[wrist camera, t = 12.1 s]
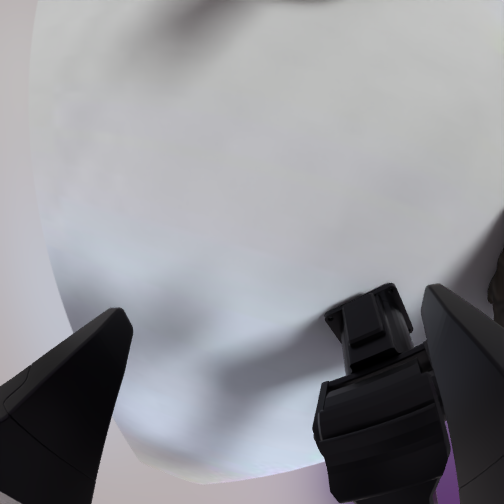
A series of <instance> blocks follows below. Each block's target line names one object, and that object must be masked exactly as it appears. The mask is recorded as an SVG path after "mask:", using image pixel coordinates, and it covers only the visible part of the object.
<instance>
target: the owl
mask: <svg viewBox="0 0 504 504" xmlns="http://www.w3.org/2000/svg"><path fill="white" fill-rule="evenodd" d="M488 301H489V302H490V303H491V304H493V310H494V321H495V322H496V323H497V324H499V325H500V326H502V327H503V328H504V249H503V251H502V253H501V255H500V257H499V259H498V265H497V271H496V274H495V275H494V277H493V279H492V280H491V282H490V285H489V288H488Z"/></svg>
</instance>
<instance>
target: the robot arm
mask: <svg viewBox="0 0 504 504" xmlns="http://www.w3.org/2000/svg"><path fill="white" fill-rule="evenodd" d="M391 288H392V290H389V289H391ZM421 315H422V320H423V324H424V329H425V333H426V338H427V340H426V341H424V342H423V344H421V345H419V346H416V347H414V346H413V343H412V340H411V337H410V333H412V331H413V327H412V324H411V322H410V319H409V317H408V314H407V312H406V309H405V307H404V305H403V302H402V300H401V298H400V295H399V293H398V291H397V288H396V286H395V284H393V283H389V284H386V285H384V286H382V287H380V288H378V289H376V290H374V291H372V292H370V293H368V294H366V295H364V296H362V297H360V298H358V299H355V300H353V301H351V302H349V303H347V304H345V305H342V306H340V307H338V308H336V309H334V310H331V311H329V312H327V313H326V314H325V321H326V323H327V324H328V325H329V327H330V328H331V330H332V331H333V332H334V334H335V335H336V337H337V338H338V339H339V341H340V342H341V344H342V347H343V355H344V363H345V372H346V376H344V377H341V378H339V379H336V380H333V381H330V382H329V381H326V382H323V383H322V384H321V389H320V394H319V399H318V404H317V408H316V413H315V417H314V422H313V427H312V429H313V433H314V440H315V441H316V444H317V447H318V449H319V451H320V453H321V454H322V455H323V456H324V459H325V462H326V466H327V471H328V477H329V485H330V492H331V493H332V494H333V496H334V497H335V498H336V500H337V501H338V502H339V503H345V502H352V501H353V502H354V503H355V504H438V501H437V494H436V487H437V485H438V483H439V480H440V478H441V476H442V475H443V472H444V470H445V466H446V463H447V460H448V457H449V454H450V442H449V438H448V433H447V429H446V425H445V421H447V423H448V428H449V432H450V438H451V443H452V448H453V453H454V459H455V465H456V472H457V479H458V486H459V488H460V489H459V497H460V504H504V328H503V327H502V326H500V325H499V324H497V323H496V322H495V321H493V320H492V319H491V318H489V317H488V316H486V315H485V314H484V313H482V312H481V311H479V310H478V309H477V308H475V307H474V306H472V305H471V304H470V303H468V302H467V301H465V300H464V299H462V298H461V297H459V296H458V295H456V294H455V293H453V292H452V291H451V290H449V289H448V288H446V287H445V286H443V285H441V284H431V285H428V286H426V288H425V292H424V297H423V302H422V307H421ZM329 317H332V318H329ZM132 336H133V327H132V325H131V323H130V321H129V319H128V317H127V315H126V313H125V311H124V310H123V309H122V308H109V309H108V310H106V311H105V312H103V313H102V314H101V315H99V316H98V317H96V318H95V319H93V320H92V321H91V322H89V323H88V324H86V325H85V326H84V327H82V328H81V329H79V330H78V331H76V332H75V333H74V334H72V335H71V336H69V337H68V338H67V339H65V340H64V341H63V342H61V343H60V344H58V345H57V346H56V347H54V348H53V349H51V350H50V351H49V352H47V353H46V354H45V355H43V356H42V357H40V358H39V359H38V360H36V361H35V362H34V363H32V365H30V366H28V367H27V368H26V369H24V370H23V371H21V372H20V373H19V374H17V375H16V376H15V377H13V378H12V379H10V380H9V381H7V382H6V383H4V384H3V385H2V386H0V504H91V503H92V498H93V493H94V488H95V483H96V477H97V473H98V469H99V464H100V460H101V455H102V452H103V448H104V443H105V440H106V436H107V432H108V428H109V425H110V421H111V417H112V414H113V410H114V407H115V403H116V400H117V396H118V393H119V390H120V386H121V383H122V380H123V376H124V373H125V368H126V364H127V359H128V354H129V350H130V345H131V341H132Z"/></svg>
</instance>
